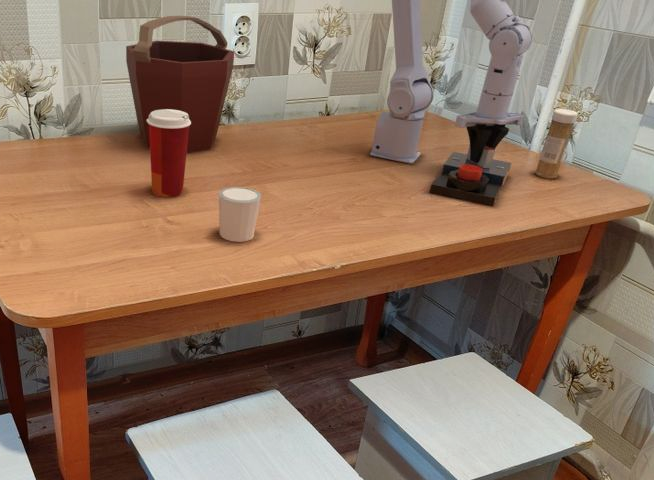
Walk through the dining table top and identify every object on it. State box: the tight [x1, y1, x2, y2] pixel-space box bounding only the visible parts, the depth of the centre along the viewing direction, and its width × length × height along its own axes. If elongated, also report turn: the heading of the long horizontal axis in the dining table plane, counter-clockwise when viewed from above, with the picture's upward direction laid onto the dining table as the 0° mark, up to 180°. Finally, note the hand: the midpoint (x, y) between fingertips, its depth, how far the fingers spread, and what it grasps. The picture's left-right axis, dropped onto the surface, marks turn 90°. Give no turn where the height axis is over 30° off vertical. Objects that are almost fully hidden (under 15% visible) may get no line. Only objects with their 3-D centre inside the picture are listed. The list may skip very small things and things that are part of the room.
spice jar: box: [534, 108, 579, 180], centre depth 146 cm, size 5×5×14 cm
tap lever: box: [466, 145, 496, 168], centre depth 143 cm, size 6×2×4 cm, turn 18°
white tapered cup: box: [218, 186, 262, 243], centre depth 113 cm, size 7×7×7 cm
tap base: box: [441, 151, 512, 192], centre depth 145 cm, size 12×10×3 cm
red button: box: [457, 164, 483, 181], centre depth 135 cm, size 4×4×2 cm
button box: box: [429, 170, 502, 207], centre depth 136 cm, size 12×8×4 cm, turn 63°
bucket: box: [125, 15, 235, 153], centre depth 149 cm, size 24×22×25 cm
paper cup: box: [146, 109, 191, 198], centre depth 125 cm, size 8×8×14 cm
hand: (478, 161), depth 144 cm, fingers closed on tap lever, 2 cm apart
